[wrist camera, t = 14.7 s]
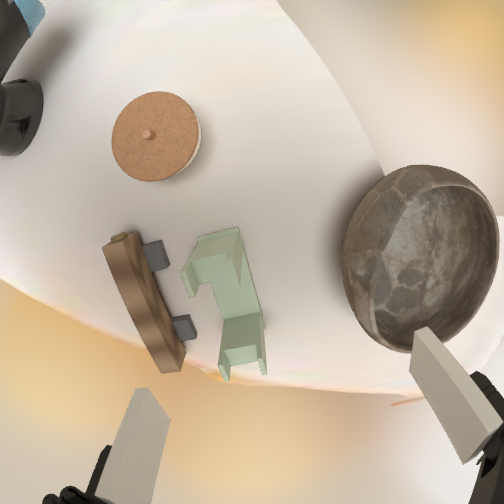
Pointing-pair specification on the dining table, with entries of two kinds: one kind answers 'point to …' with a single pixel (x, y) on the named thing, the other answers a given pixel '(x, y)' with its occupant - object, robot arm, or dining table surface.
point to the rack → (229, 297)
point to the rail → (144, 301)
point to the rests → (160, 261)
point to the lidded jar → (156, 136)
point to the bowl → (419, 255)
